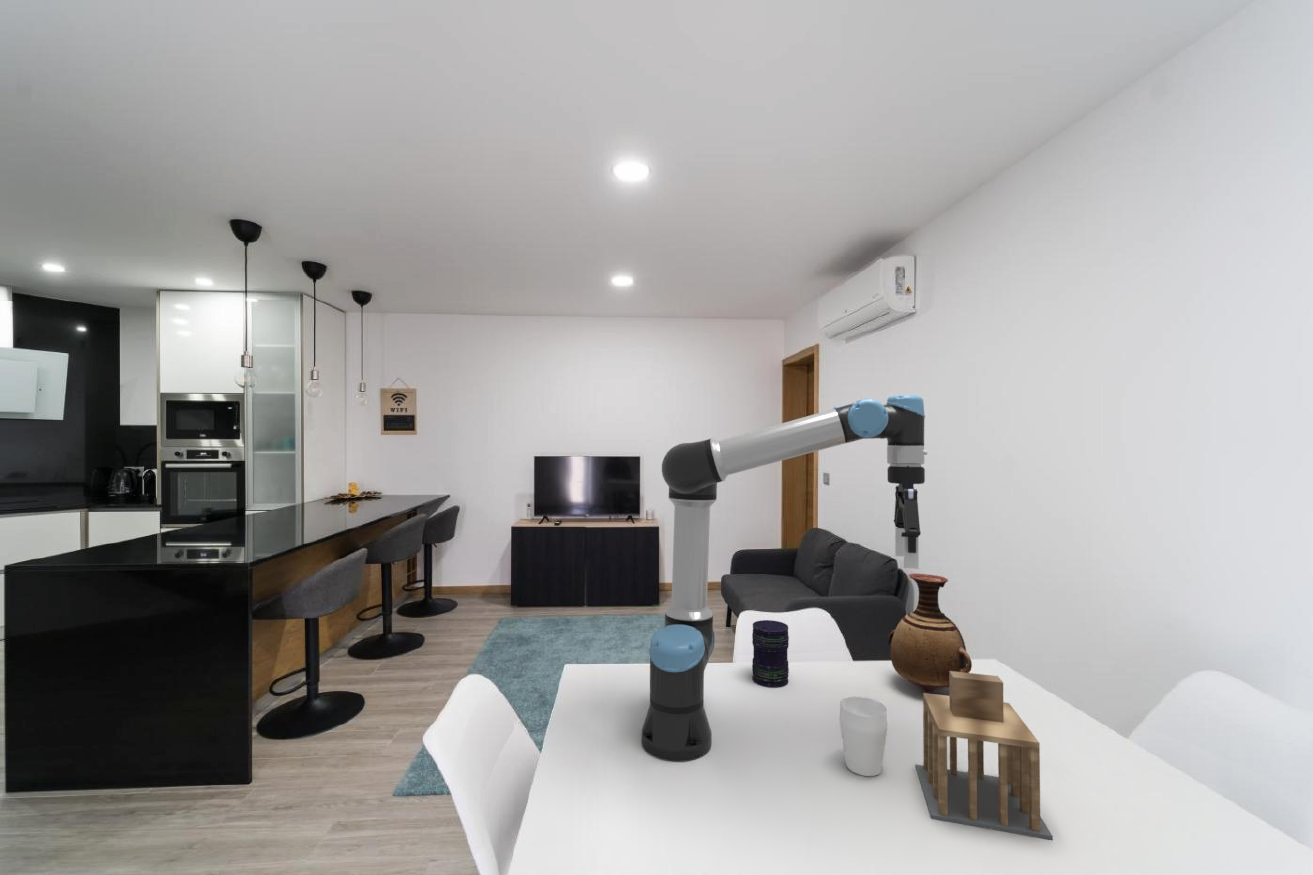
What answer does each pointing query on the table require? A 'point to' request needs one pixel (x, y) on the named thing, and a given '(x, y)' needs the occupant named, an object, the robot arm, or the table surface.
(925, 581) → the vase
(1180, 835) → the table surface
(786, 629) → the dark blue cylinder
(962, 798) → the mat
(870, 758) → the cup
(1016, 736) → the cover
